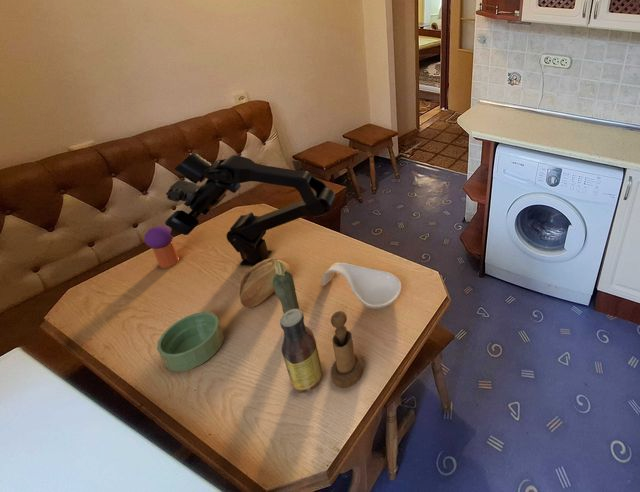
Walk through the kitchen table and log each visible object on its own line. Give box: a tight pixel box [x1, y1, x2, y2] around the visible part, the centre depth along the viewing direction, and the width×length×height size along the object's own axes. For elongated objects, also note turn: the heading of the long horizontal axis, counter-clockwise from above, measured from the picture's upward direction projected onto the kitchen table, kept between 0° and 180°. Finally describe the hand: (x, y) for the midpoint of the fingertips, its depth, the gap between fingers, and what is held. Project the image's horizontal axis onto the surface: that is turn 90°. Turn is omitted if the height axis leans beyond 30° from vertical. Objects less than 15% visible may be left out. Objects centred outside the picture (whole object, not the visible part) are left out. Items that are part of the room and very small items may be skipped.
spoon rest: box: [321, 262, 402, 310], centre depth 97 cm, size 24×12×7 cm, turn 71°
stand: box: [151, 240, 180, 269], centre depth 106 cm, size 5×5×7 cm
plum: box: [144, 225, 174, 249], centre depth 104 cm, size 6×6×6 cm
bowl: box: [156, 311, 225, 373], centre depth 81 cm, size 11×11×6 cm
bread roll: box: [238, 258, 292, 309], centre depth 97 cm, size 10×15×8 cm, turn 164°
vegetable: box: [271, 260, 300, 315], centre depth 86 cm, size 4×4×20 cm
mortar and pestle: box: [330, 310, 364, 389], centre depth 75 cm, size 7×6×18 cm
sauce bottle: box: [279, 308, 324, 394], centre depth 73 cm, size 7×6×20 cm
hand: (182, 225), depth 103 cm, fingers open, 9 cm apart
